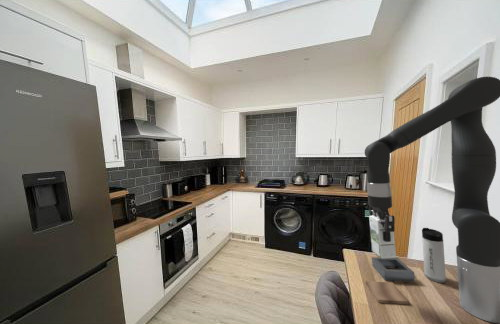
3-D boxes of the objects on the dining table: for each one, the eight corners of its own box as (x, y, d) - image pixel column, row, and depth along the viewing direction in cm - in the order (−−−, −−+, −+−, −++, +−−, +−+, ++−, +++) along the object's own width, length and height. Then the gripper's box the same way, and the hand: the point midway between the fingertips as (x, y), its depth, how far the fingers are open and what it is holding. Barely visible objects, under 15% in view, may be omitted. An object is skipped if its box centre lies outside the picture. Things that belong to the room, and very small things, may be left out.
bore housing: (398, 266, 85) (397, 257, 85) (414, 282, 74) (414, 272, 74) (372, 265, 87) (371, 257, 87) (385, 280, 76) (384, 271, 76)
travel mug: (435, 272, 79) (432, 227, 79) (450, 282, 72) (447, 233, 72) (420, 272, 79) (417, 227, 79) (433, 282, 73) (430, 233, 73)
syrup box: (396, 258, 66) (394, 218, 66) (380, 258, 67) (377, 219, 67) (386, 250, 72) (383, 214, 72) (370, 251, 72) (368, 215, 72)
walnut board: (392, 284, 73) (392, 282, 73) (409, 304, 63) (409, 301, 63) (365, 283, 75) (365, 281, 75) (378, 302, 65) (378, 299, 65)
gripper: (402, 197, 62) (405, 246, 62) (380, 190, 76) (383, 230, 76) (377, 198, 63) (381, 246, 63) (360, 191, 77) (363, 230, 77)
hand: (382, 237), depth 69 cm, fingers closed on syrup box, 6 cm apart
